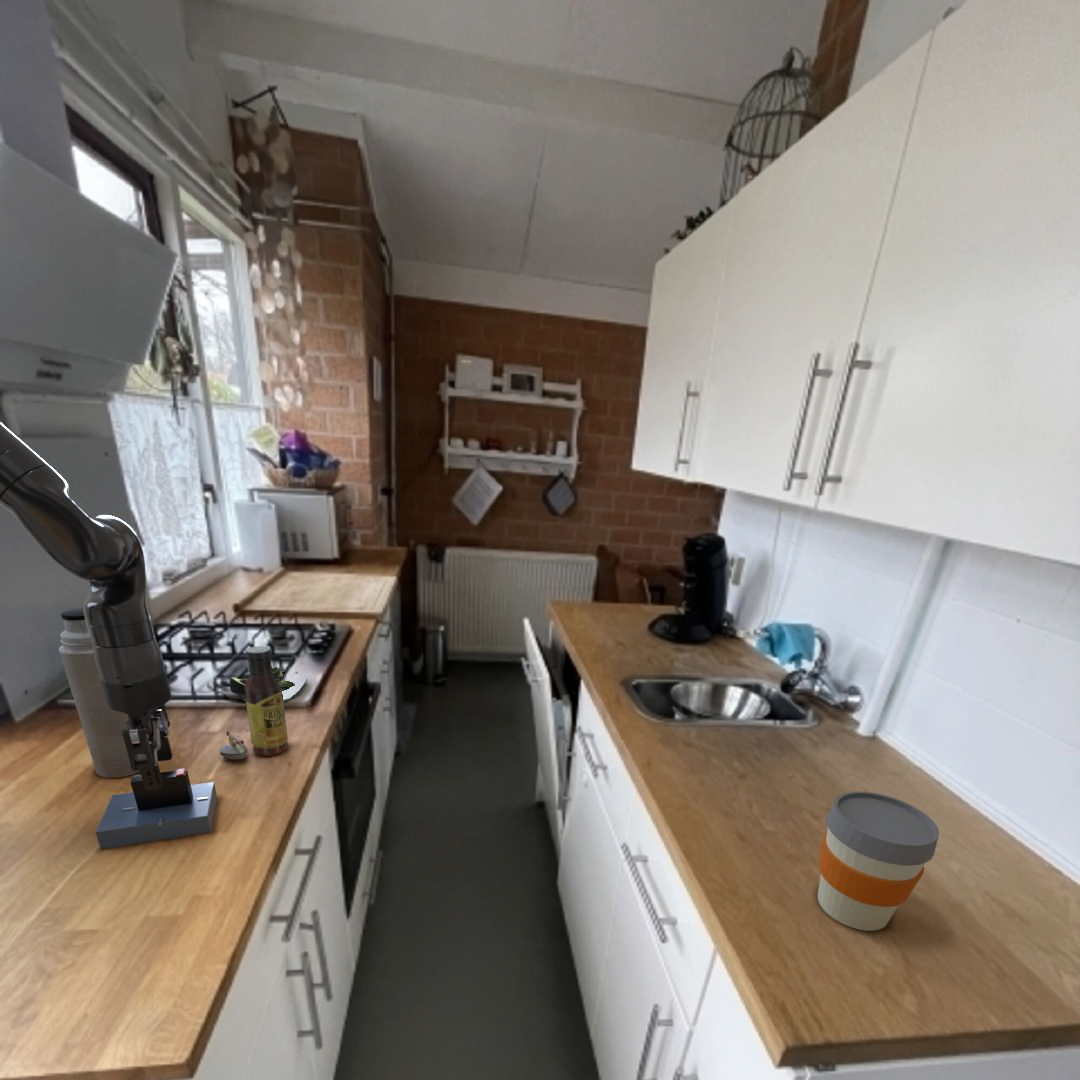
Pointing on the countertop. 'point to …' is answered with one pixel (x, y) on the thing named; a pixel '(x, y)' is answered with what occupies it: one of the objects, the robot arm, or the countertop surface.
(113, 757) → the thermos bottle
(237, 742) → the figurine
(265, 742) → the sauce bottle
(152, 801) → the black and red block
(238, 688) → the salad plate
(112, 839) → the rotary switch base
